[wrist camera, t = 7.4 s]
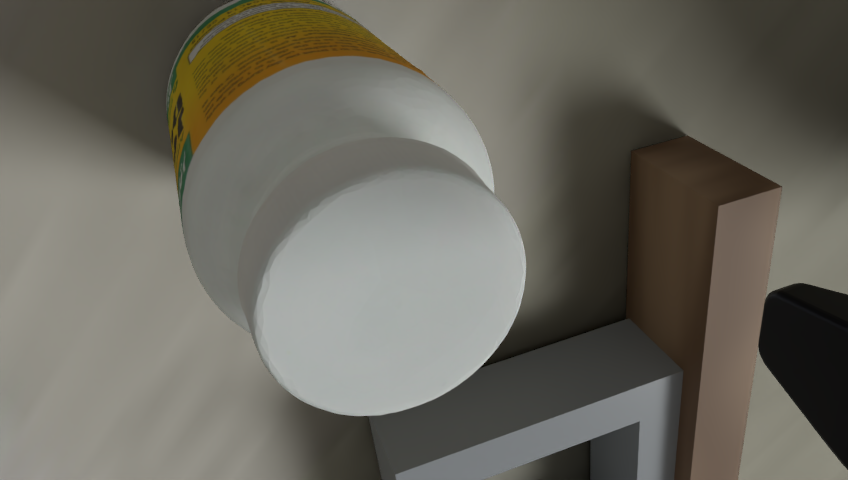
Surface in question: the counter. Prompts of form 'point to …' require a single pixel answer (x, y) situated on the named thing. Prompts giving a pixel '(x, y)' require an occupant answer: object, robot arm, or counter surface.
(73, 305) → the counter surface
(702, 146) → the rail
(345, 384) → the supplement bottle
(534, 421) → the socket block
